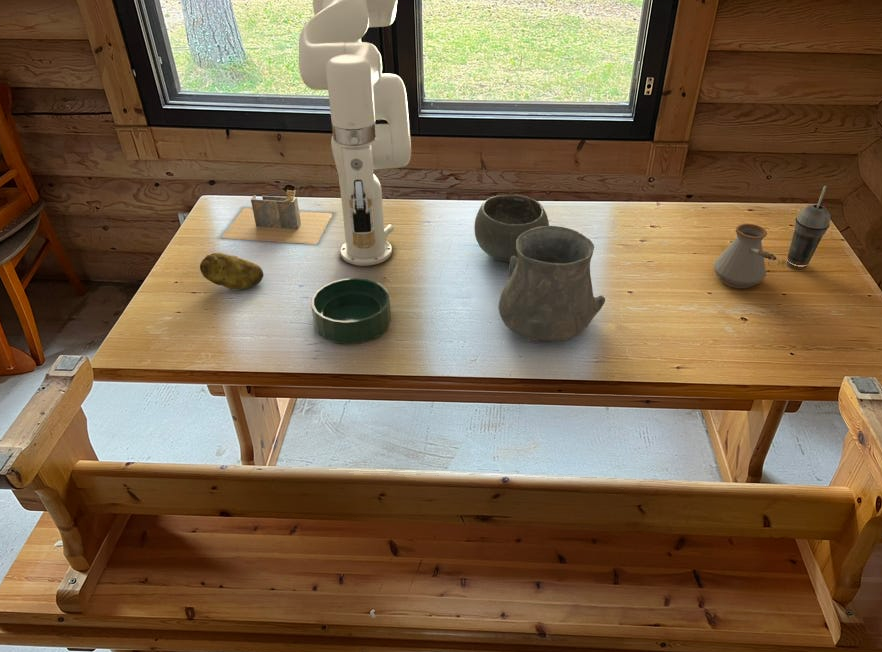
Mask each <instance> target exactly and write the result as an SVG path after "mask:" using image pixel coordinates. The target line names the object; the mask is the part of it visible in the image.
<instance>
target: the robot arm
mask: <svg viewBox="0 0 882 652" xmlns="http://www.w3.org/2000/svg"><path fill="white" fill-rule="evenodd" d="M397 5H398V0H312V9H313V14H314V16H312V17H311V18H310V19H309V20H307V21H306V22H305V24H304V25H303V27H302V28H301V31H300V33H299V34H300V35H299V39H298V67H299V69H298V70H299V73H300V77H301V80H302V81H303V84H304V86H306V88H308V89H311V90H314V91H327V94H328V100H329V102H328V103H329V110H330V120H331V130H332V136H331V139H330V140H331V141H330V147H331V152H332V157H333V160H334V163H335V168H336V172H337V177H338V183H339V189H340V190H339V191H340V201H341V210H342V219H343V229H344V239H345V242H344V243H343V244H342V245H341V246H340V249H339V252H340V257H341V258H342V260H343V261H344V262H346V263H348V264H351V265H354V266H361V267H368V266H369V267H370V266H374V265H379V264H382V263H384V262H385V261H387V260H388V259H389V258H391V255H392V254H393V253H392V252H393V247H392V244H391V243H390V242H389V241H388V240H387V239H388V236H389V235H390V234H391V233H393V231H394V230H395V228H394V226H393V225H392V224H389V223H388V224H387V225H386V226H385V222H384V221H385V220H384V218H385V217H384V206H383V205H384V204H383V191H382V185H381V182H380V179H379V178H378V177H377V175H375V173H374V172H375V171H374V170H381V169H382V170H385V169H387V170H388V169H401V168H404V167H406V166H408V164H409V163H410V161H411V159H412V158H411V157H412V142H411V129H410V119H409V107H408V106H409V105H408V96H407V90H406V86H405V83H404V81H403V79H402V78H401V77H400V76H399V75H397V74H395V73H383V61H382V55H381V53H380V51H379V50H378V48H377V47H376V45H374V44H373V43H370V42H367V41H362V38H363V37H364V36H365V34H366V33H367V31H368V29H369V28H380V27H381V28H384V27H388V26H389V27H390V26H391V25H392V24H393V23H394V21H395V20H396V15H397V7H398V6H397ZM360 39H361V40H360ZM376 120H377V121H381V120H384V121H386V122H387V123H376ZM362 185H363V186H362ZM363 194H365V196H363ZM354 195H356V197H354ZM368 199H372V206H373V218H374V234H375V240H376V243H375V245H374V246H372V247H370V248H366V249H361V248H357V247H355V246H354V245H353V234H352V227H351V218H350V208H349V200H351V201H353V211H354V212H352V213H353V224H354V232H356V233H359V232H370V231H371V221H370V211H369V212H368ZM363 201H365V204H363ZM356 203H357V205H356Z"/></svg>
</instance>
